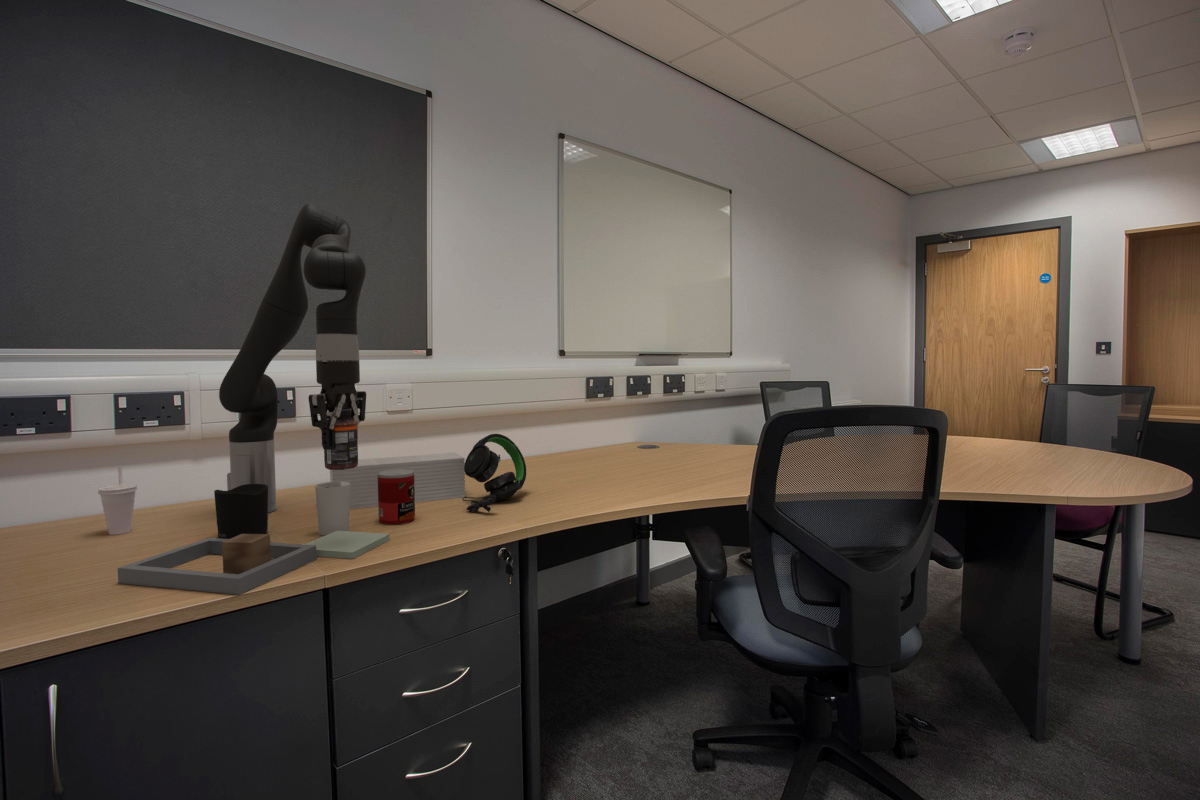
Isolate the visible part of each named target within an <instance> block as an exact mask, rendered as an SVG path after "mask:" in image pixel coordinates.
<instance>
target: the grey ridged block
mask: <svg viewBox="0 0 1200 800" xmlns="http://www.w3.org/2000/svg"><path fill="white" fill-rule="evenodd" d="M465 461H466V459H465V457H464V456H462V455H460V454H458V453H455V452H447V453H445V452H444V453H443V452H442V453H436V454H435V453H431V454H418V455H417V454H415V455H404V456H392V457H391V456H390V457H376V458H364V459H363V458H362V459H359V458H358V466H356V467H355V468H351V469H345V470H329V476H330V477H329V480H330V481H329V482H349V483H350V501H349V510H357V508H358V509H365V508H366V509H367V507H368V508H376V507H378V473H379V472H382V471H386V470H397V469H405V470H412V471H414V486H415V503H421V502H422V503H423V502H430V501H431V502H432V501H443V500H452V499H460V498H461V499H462V498H463V497H466V479H465V478H466V474H465V471H464V465H465Z"/></svg>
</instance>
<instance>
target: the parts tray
mask: <svg viewBox="0 0 1200 800" xmlns="http://www.w3.org/2000/svg"><path fill="white" fill-rule="evenodd" d="M227 540H229V539H221V538H219V537H207V538H205V539H201V540H198V541H195V542H192V543H189V544H186V545H183V546H179V547H177V548H174V549H171V550H168V551H165V552H161V553H159V554H155V555H153V556H149V557H147V558H144V559H140V560H138V561H134V562H131V563H129V564H125V565H122V566H119V567H117V581H118V582H117V583H118V584H125V585H133V586H136V585H137V586H145V587H155V588H163V589H175V590H184V591H197V592H205V593H207V592H208V593H216V594H227V595H237V596H240V595H243V594H245V593H246V592H249V591H251V590H253V589H255V588H257V587H260V586H261V585H264V584H266V583H268V582H270V581H273V580H274V579H277V578H279V577H281V576H284V575H286V574H287V572H288V573H289V572H292V571H293V570H296V569H299V568H301V567H302V565H303V566H304V564H305V565H307V564H309V563H311V562H313V561H316V560H317V559H318V558H317V557H318V556H316V545H304V544H301V543H300V544H299V543H288V542H273V541H270V551H271V561H269V562H267V563H264V564H262V565H260V566H257V567H255V568H253V569H250V570H248V571H246V572H243V573H241V574H228V573H223V572H213V571H203V570H191V569H180V568H175V567H177V566H180V565H183V564H186V563H188V562H191V561H193V560H197V559H199V558H203V557H205V556H208V555H220V556H221V555H222V556H223V551H222V542H224V541H227Z"/></svg>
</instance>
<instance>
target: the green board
mask: <svg viewBox="0 0 1200 800" xmlns="http://www.w3.org/2000/svg"><path fill="white" fill-rule="evenodd" d="M390 540H391V533H378V532H366V531H350V530H349V531H335V532H333V533H330V534H328V535H322V536H321V537H319V538H317V539H314V540H312V541H309V542H307V543H304V544H303V545H316V557H325V558H334V559H335V558H336V559H348V560H350V559H351V560H353V559H355V558H357V557H360V556H361V555H363V554H365V553H367V552H370V551H372V550H373V549H375V548H377V547H379V546H381V545H382V544H385V543H386V542H389V541H390Z"/></svg>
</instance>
